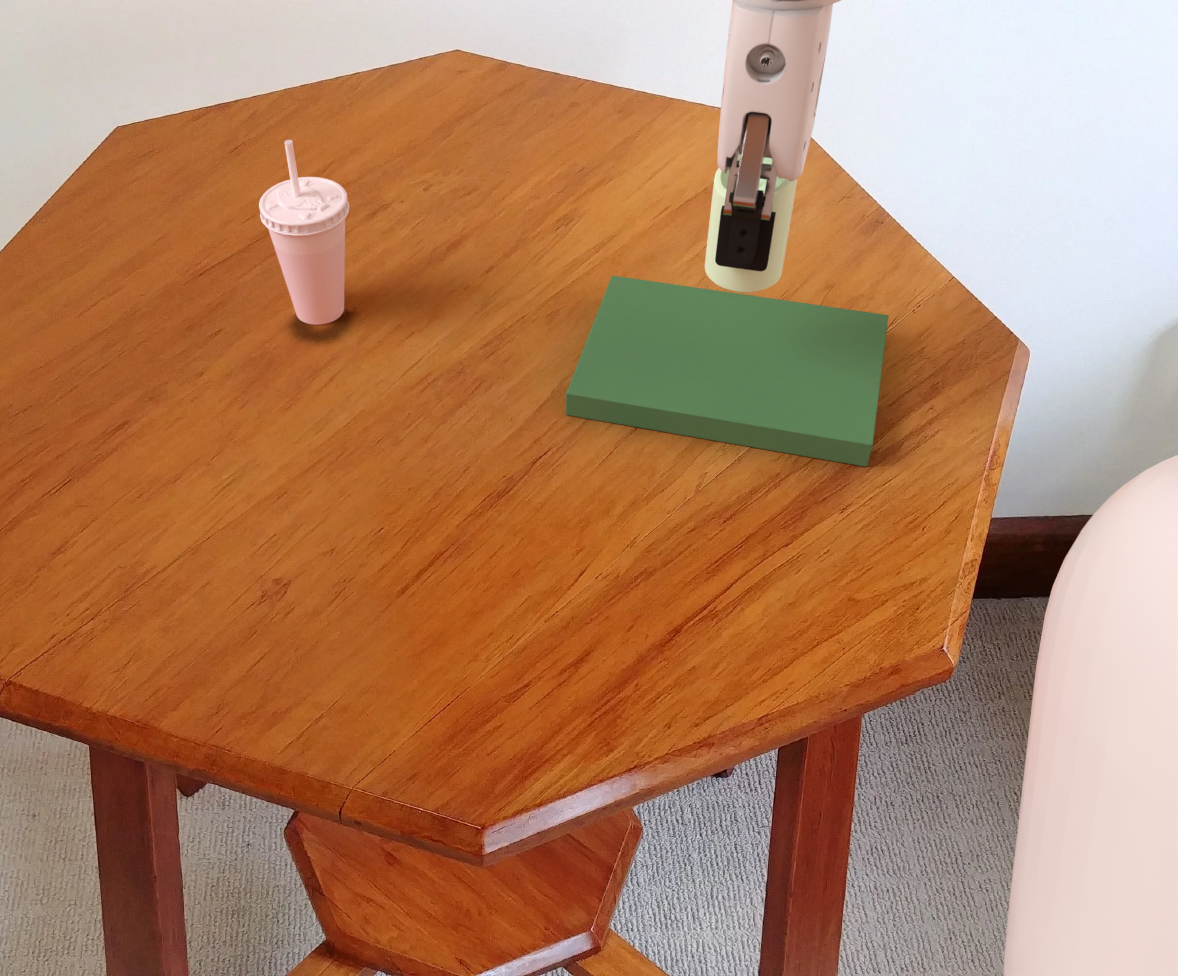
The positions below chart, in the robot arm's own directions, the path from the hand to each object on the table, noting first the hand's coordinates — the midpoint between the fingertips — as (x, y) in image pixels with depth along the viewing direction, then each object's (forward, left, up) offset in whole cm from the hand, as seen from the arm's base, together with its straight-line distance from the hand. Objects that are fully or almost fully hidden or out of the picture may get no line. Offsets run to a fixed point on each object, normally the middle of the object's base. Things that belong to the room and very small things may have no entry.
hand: (747, 240), depth 79 cm
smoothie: (+31, 0, -11) cm, 33 cm away
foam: (0, 0, -11) cm, 11 cm away
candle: (0, -1, -3) cm, 3 cm away
